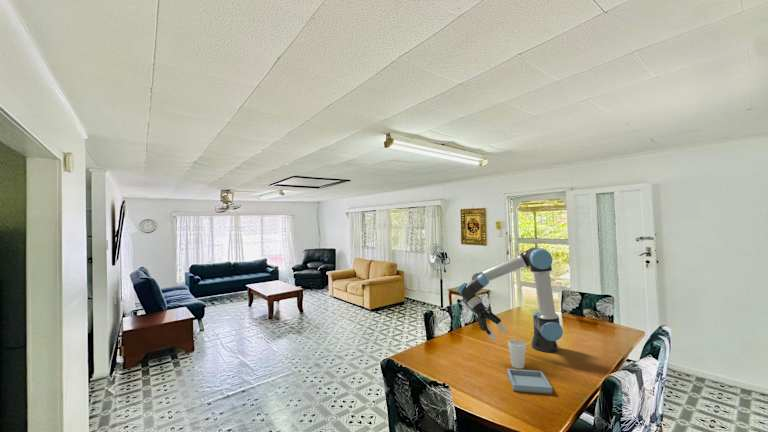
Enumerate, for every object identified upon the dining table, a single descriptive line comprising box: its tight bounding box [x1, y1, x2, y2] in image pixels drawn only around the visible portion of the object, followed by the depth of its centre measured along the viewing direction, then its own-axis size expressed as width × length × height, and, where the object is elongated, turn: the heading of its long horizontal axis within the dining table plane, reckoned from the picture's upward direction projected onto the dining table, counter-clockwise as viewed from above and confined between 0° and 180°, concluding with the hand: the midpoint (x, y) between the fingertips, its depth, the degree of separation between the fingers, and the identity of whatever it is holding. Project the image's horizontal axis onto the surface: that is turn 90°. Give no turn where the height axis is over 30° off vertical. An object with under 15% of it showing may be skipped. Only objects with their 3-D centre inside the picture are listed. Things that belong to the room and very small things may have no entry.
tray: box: [506, 368, 554, 395], centre depth 155 cm, size 17×17×3 cm
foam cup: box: [507, 338, 527, 369], centre depth 174 cm, size 10×9×13 cm
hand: (500, 336), depth 182 cm, fingers open, 13 cm apart
